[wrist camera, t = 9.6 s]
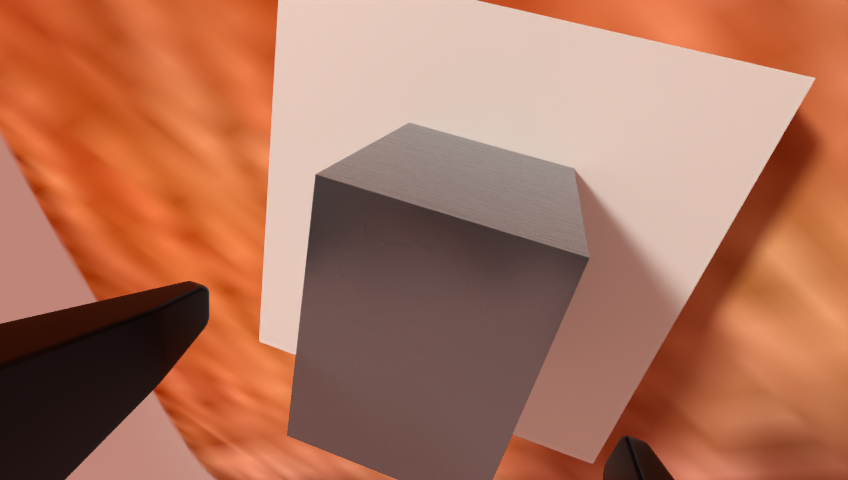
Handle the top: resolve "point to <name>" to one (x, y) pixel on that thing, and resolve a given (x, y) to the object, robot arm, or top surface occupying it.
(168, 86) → the top surface
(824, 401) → the top surface
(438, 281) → the block
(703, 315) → the top surface
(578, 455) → the board
